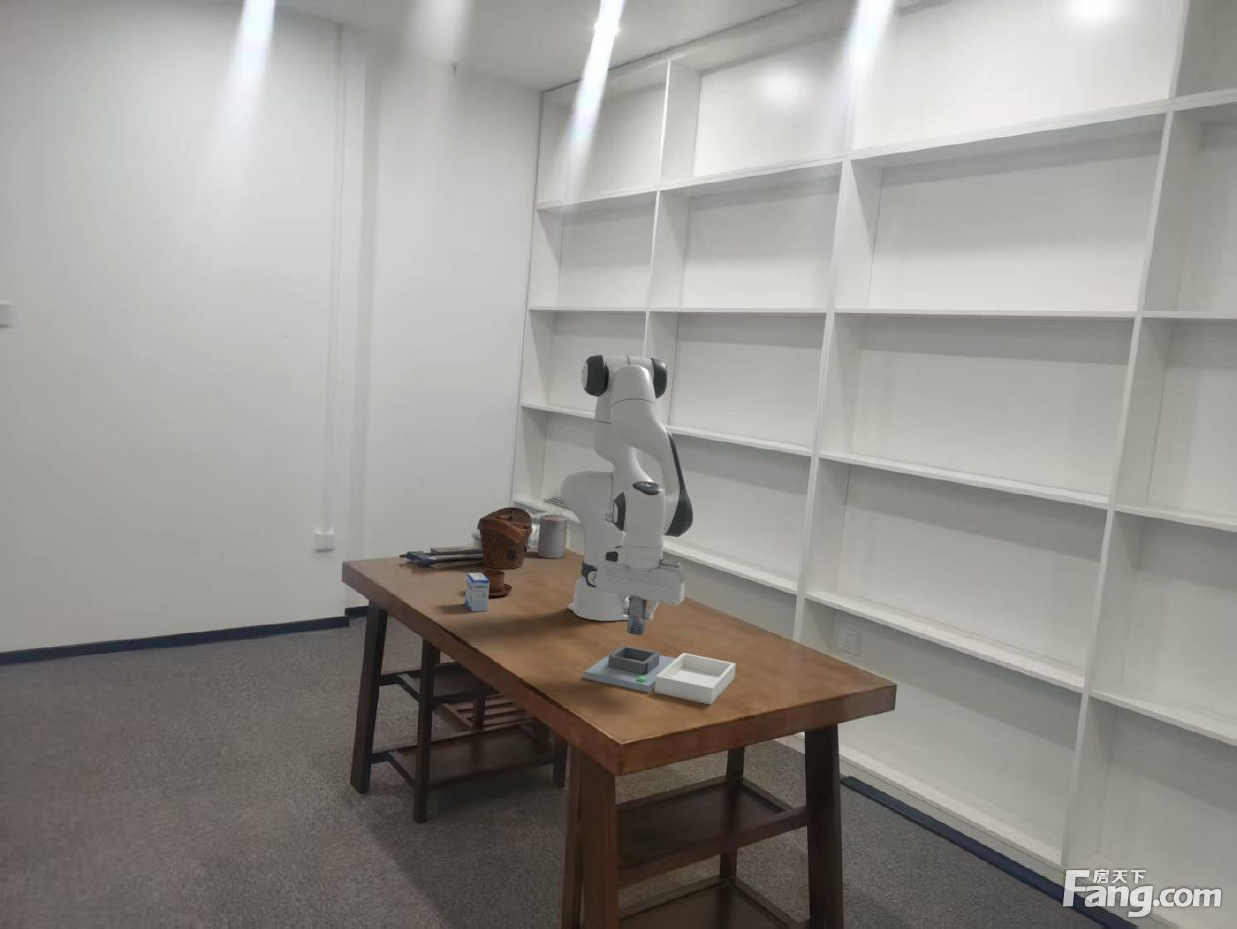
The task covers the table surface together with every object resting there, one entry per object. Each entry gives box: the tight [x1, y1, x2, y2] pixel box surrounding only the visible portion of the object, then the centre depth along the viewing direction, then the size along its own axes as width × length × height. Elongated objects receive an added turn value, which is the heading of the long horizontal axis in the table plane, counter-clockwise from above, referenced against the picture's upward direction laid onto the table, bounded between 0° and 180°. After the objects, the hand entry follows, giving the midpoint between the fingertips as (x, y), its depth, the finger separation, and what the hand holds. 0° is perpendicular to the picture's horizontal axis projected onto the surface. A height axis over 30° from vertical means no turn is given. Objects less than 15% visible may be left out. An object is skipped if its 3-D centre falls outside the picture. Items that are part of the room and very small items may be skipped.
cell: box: [626, 596, 648, 636], centre depth 196 cm, size 4×4×9 cm
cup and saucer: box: [478, 569, 513, 597], centre depth 253 cm, size 12×12×6 cm
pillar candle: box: [537, 513, 569, 560], centre depth 307 cm, size 10×10×15 cm
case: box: [476, 506, 533, 570], centre depth 288 cm, size 18×20×18 cm
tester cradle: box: [583, 644, 677, 693], centre depth 197 cm, size 20×15×4 cm
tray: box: [654, 652, 737, 706], centre depth 192 cm, size 18×12×4 cm
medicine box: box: [464, 572, 489, 613], centre depth 238 cm, size 8×4×9 cm, turn 23°
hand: (637, 616), depth 196 cm, fingers closed on cell, 4 cm apart
